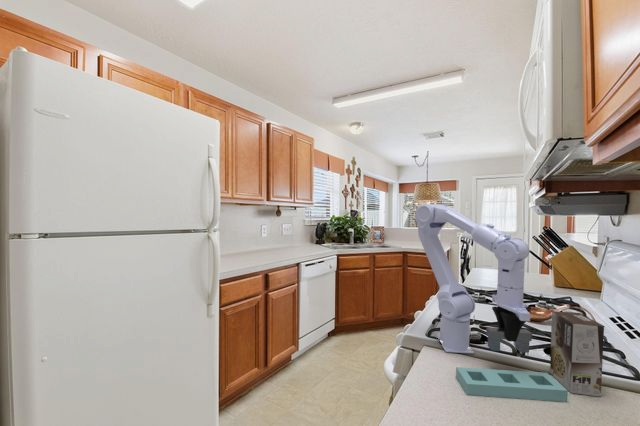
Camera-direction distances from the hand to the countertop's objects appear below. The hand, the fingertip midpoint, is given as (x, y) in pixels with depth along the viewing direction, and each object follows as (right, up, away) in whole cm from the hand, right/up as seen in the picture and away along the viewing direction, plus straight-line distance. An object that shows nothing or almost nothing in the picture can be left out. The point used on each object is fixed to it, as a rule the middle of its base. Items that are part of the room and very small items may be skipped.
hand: (508, 338), depth 79 cm
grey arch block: (0, -3, 0) cm, 3 cm away
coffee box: (+12, -9, -5) cm, 16 cm away
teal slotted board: (-5, -9, -8) cm, 13 cm away
